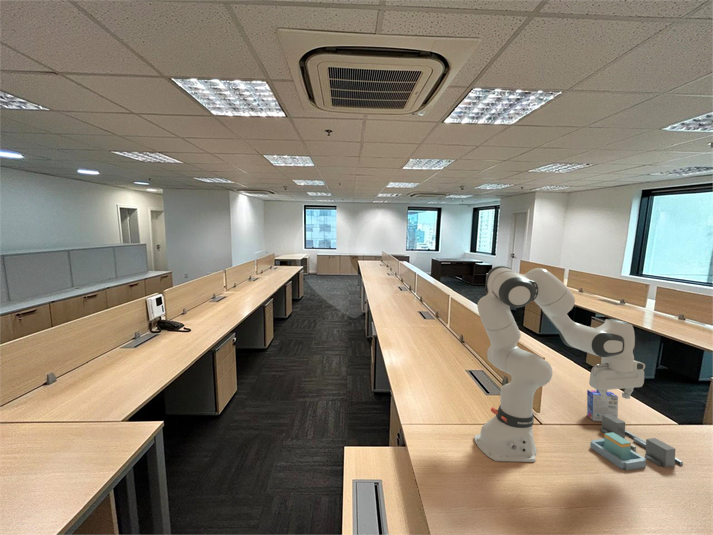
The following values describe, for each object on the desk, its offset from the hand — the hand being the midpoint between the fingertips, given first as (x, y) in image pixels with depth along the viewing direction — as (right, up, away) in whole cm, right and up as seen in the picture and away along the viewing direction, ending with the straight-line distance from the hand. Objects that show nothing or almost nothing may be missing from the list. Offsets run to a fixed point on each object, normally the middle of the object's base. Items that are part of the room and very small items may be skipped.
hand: (615, 399), depth 104 cm
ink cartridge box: (+16, -21, +24) cm, 35 cm away
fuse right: (+14, -22, -2) cm, 26 cm away
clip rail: (+13, -21, +5) cm, 25 cm away
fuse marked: (0, -21, 0) cm, 21 cm away
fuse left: (+12, -21, +13) cm, 27 cm away
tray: (+1, -22, 0) cm, 22 cm away
